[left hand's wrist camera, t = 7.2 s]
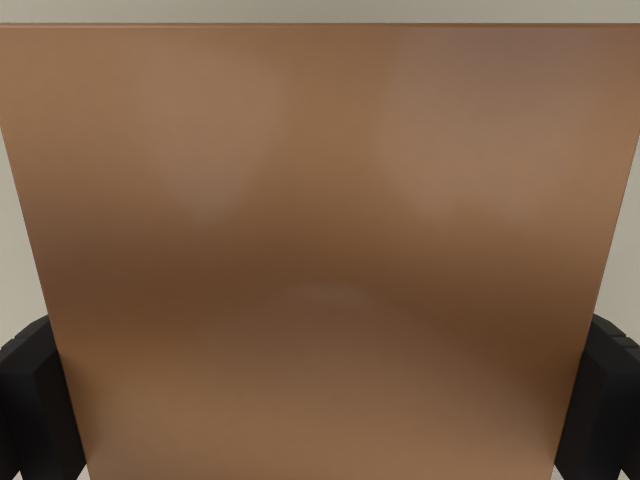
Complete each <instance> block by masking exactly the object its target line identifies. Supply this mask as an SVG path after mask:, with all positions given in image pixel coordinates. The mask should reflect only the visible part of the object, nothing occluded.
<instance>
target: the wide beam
mask: <svg viewBox="0 0 640 480" xmlns="http://www.w3.org/2000/svg"><path fill="white" fill-rule="evenodd" d="M0 127H1V131H2V135H3V139H4V143H5V146H6V150H7V154H8V158H9V162H10V166H11V170H12V174H13V178H14V182H15V186H16V190H17V193H18V197H19V201H20V205H21V209H22V213H23V217H24V221H25V225H26V229H27V233H28V237H29V241H30V244H31V248H32V252H33V256H34V260H35V264H36V268H37V272H38V276H39V280H40V284H41V288H42V291H43V295H44V299H45V303H46V307H47V311H48V315H49V319H50V323H51V327H52V331H53V335H54V338H55V342H56V346H57V350H58V354H59V358H60V362H61V366H62V370H63V374H64V378H65V382H66V385H67V389H68V393H69V397H70V401H71V405H72V409H73V413H74V417H75V421H76V425H77V429H78V432H79V436H80V440H81V444H82V448H83V452H84V456H85V460H86V464H87V468H88V472H89V476H90V479H91V480H550V479H551V475H552V471H553V467H554V463H555V459H556V455H557V452H558V448H559V444H560V440H561V436H562V432H563V428H564V425H565V421H566V417H567V413H568V409H569V405H570V401H571V397H572V394H573V390H574V386H575V382H576V378H577V374H578V370H579V366H580V363H581V359H582V355H583V351H584V347H585V343H586V339H587V335H588V332H589V328H590V324H591V320H592V316H593V312H594V308H595V305H596V301H597V297H598V293H599V289H600V285H601V281H602V277H603V274H604V270H605V266H606V262H607V258H608V254H609V250H610V246H611V243H612V239H613V235H614V231H615V227H616V223H617V219H618V215H619V212H620V208H621V204H622V200H623V196H624V192H625V188H626V184H627V181H628V177H629V173H630V169H631V165H632V161H633V157H634V154H635V150H636V146H637V142H638V138H639V134H640V23H0Z"/></svg>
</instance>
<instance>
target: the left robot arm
mask: <svg viewBox="0 0 640 480" xmlns="http://www.w3.org/2000/svg"><path fill="white" fill-rule="evenodd" d="M554 464H555V466H556V468H557V469H558V471H559V472H560V474H561V476H562V477H563V479H564V480H618V477H619V474H620V471H621V469H622V470H623V472H624V473H625V474H626V475H627V477H628V478H629V479H630V480H640V346H639V345H638V344H637V343H636V342H634V341H633V340H632V339H631V338H629V337H626V334H625V333H623V332H622V331H621V330H620V329H618V328H617V327H616V326H615V325H614V324H612V323H611V322H610V321H608V320H606V319H604V318H602V317H600V316H598V315H596V314H594V313H593V316H592V320H591V324H590V328H589V332H588V335H587V339H586V343H585V347H584V351H583V355H582V359H581V363H580V366H579V370H578V374H577V378H576V382H575V386H574V390H573V394H572V397H571V401H570V405H569V409H568V413H567V417H566V421H565V425H564V428H563V432H562V436H561V440H560V444H559V448H558V452H557V455H556V459H555V463H554ZM85 465H86V460H85V456H84V452H83V448H82V444H81V440H80V436H79V432H78V429H77V425H76V421H75V417H74V413H73V409H72V405H71V401H70V397H69V393H68V389H67V385H66V382H65V378H64V374H63V370H62V366H61V362H60V358H59V354H58V350H57V346H56V342H55V338H54V335H53V331H52V327H51V323H50V319H49V315H46V316H44V317H42V318H40V319H38V320H36V321H34V322H32V323H30V324H29V325H28V326H27V327H26V328H24V329H23V330H22V331H21V332H19V333H18V334H17V335H16V336H15V339H11V340H10V341H8V342H7V343H6V344H5V345H4V346H2V347H1V350H0V480H13V478H14V477H15V476H16V474H17V473H18V472H19V471H20V472H21V475H22V478H23V480H76V479H77V478H78V476H79V475H80V473H81V471H82V470H83V468H84V466H85Z"/></svg>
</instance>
